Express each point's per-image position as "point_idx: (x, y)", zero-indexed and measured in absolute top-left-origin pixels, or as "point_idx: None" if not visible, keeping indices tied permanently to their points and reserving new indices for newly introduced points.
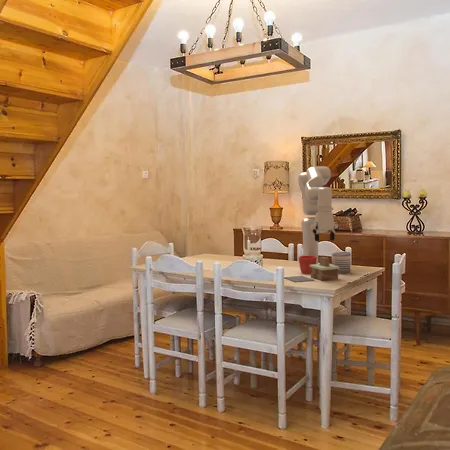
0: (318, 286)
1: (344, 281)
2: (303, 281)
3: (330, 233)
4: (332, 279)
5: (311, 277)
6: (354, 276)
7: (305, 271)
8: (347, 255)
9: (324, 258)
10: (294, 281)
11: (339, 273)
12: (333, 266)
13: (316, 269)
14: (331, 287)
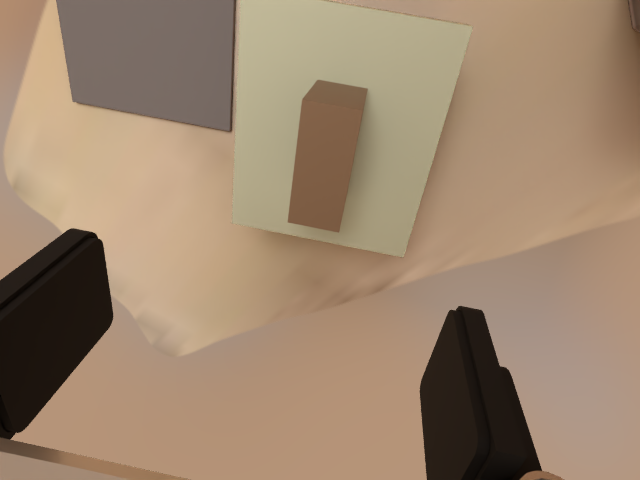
0: (157, 271)
1: (382, 261)
2: (140, 112)
3: (472, 455)
4: None
5: None
6: (611, 179)
7: None
8: None
9: (289, 206)
10: (71, 89)
11: (633, 17)
12: (371, 221)
13: None
14: (205, 321)
